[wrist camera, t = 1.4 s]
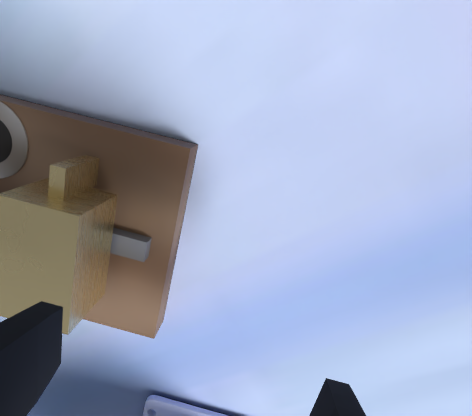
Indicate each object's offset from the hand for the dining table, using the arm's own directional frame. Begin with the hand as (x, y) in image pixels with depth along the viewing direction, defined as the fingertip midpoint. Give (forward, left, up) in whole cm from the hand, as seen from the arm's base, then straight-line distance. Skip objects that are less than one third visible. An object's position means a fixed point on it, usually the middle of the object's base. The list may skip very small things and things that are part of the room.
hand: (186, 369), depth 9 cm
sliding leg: (0, +6, -7) cm, 9 cm away
